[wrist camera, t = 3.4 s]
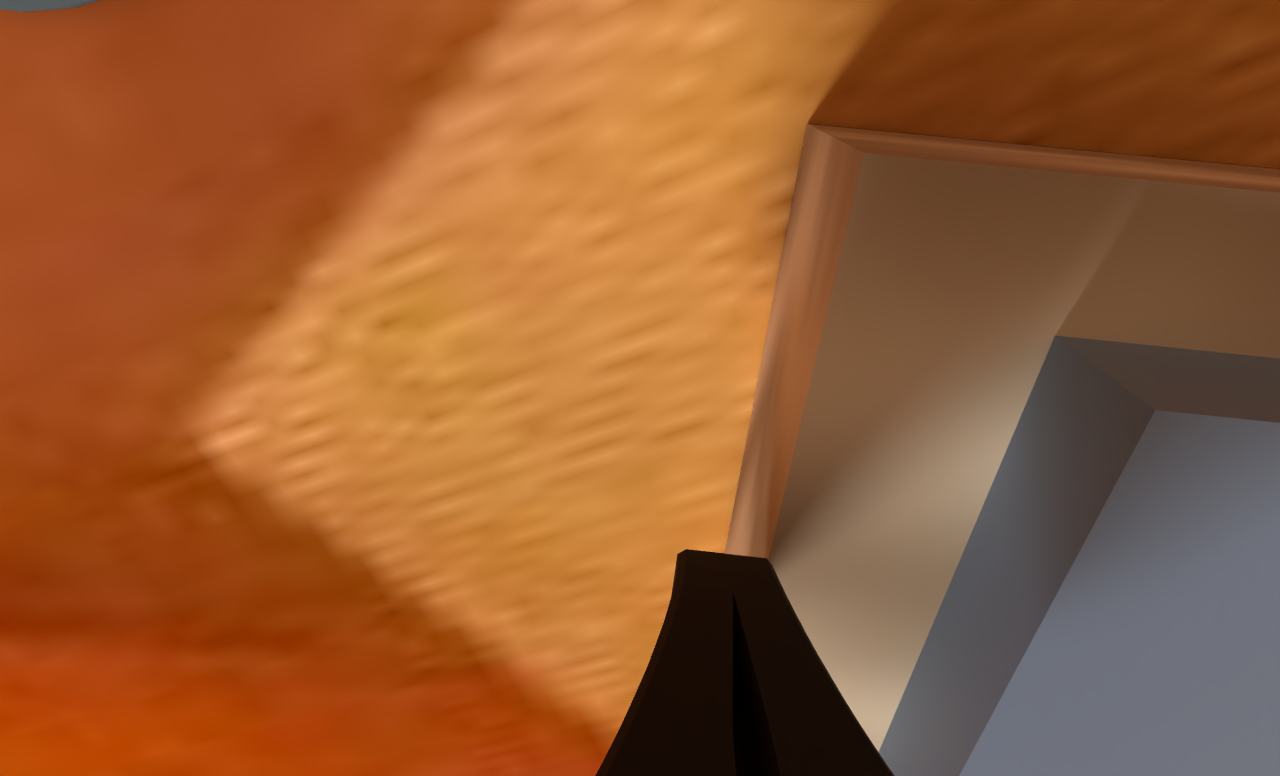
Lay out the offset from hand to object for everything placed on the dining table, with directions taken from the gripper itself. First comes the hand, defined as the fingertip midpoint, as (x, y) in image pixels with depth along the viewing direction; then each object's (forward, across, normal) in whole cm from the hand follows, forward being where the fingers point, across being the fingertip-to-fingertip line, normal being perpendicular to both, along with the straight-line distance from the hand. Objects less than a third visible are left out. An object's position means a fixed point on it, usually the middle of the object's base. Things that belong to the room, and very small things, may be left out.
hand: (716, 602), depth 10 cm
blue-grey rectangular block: (+1, -7, 0) cm, 7 cm away
